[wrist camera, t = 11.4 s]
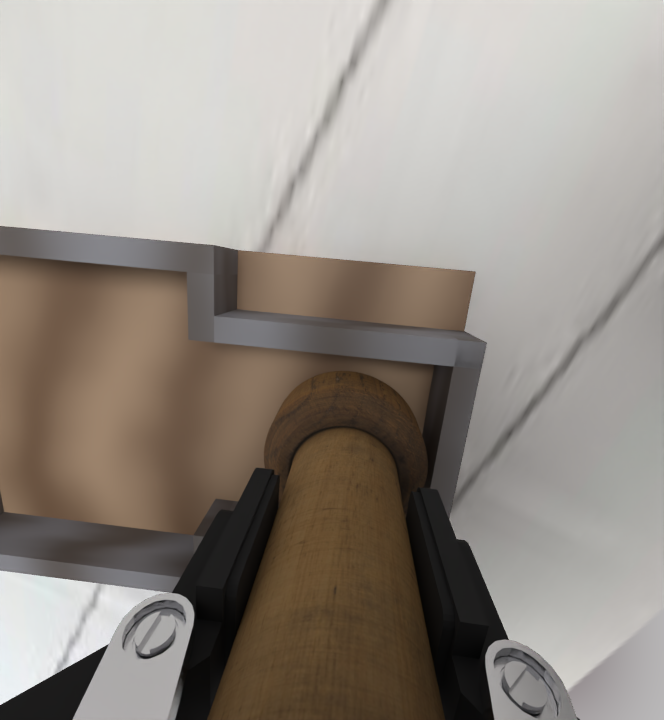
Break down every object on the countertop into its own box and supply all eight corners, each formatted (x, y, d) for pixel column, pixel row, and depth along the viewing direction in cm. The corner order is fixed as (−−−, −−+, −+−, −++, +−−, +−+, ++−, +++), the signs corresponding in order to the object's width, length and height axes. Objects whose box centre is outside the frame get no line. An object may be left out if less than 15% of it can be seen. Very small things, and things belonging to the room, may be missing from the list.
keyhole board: (467, 272, 15) (501, 271, 11) (412, 562, 19) (425, 625, 15) (-48, 225, 15) (-161, 211, 12) (8, 512, 20) (-64, 562, 16)
